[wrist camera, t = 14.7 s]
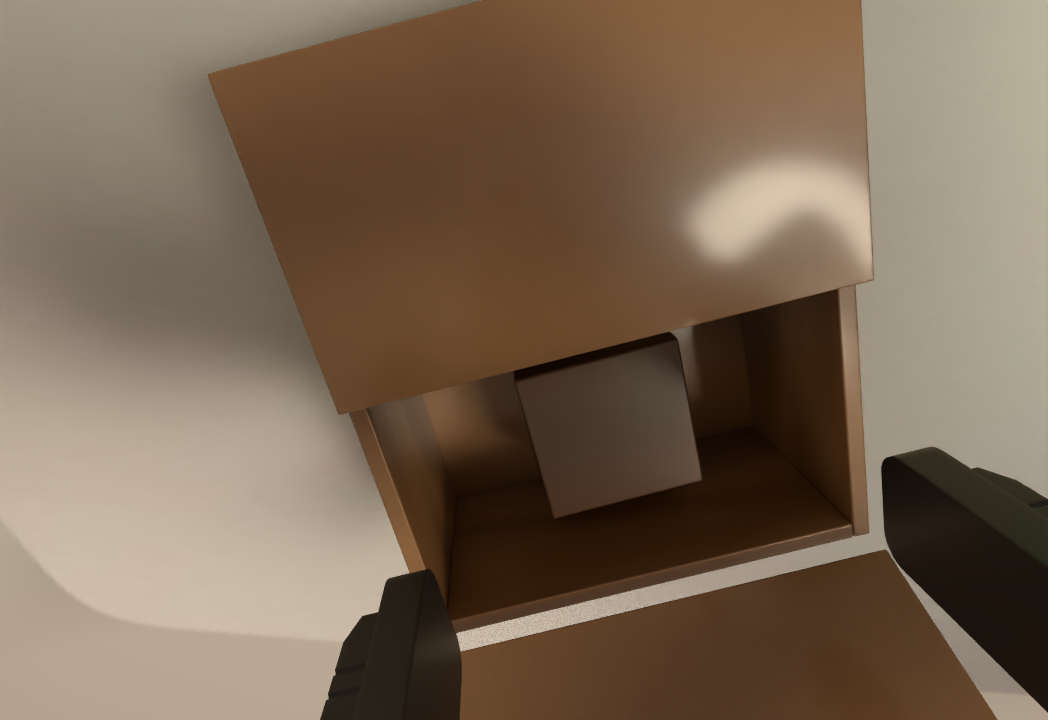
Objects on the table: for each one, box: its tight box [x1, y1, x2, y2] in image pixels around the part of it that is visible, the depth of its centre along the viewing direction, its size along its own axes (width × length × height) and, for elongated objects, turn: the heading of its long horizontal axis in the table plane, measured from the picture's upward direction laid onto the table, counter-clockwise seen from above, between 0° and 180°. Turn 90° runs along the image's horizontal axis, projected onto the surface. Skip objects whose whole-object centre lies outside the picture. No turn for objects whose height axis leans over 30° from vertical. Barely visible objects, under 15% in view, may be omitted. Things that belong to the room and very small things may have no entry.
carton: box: [208, 0, 874, 633], centre depth 15 cm, size 13×11×7 cm
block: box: [513, 332, 703, 518], centre depth 16 cm, size 4×4×4 cm
